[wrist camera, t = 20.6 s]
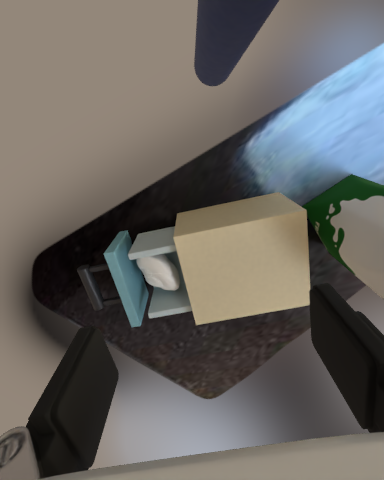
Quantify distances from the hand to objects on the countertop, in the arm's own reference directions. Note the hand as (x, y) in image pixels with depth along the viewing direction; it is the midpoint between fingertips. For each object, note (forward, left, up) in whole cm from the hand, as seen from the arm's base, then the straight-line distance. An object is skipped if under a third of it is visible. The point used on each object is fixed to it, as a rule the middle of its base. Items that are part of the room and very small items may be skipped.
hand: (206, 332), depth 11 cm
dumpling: (+6, -6, -21) cm, 23 cm away
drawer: (+7, -7, -23) cm, 25 cm away
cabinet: (+7, +4, -24) cm, 26 cm away
